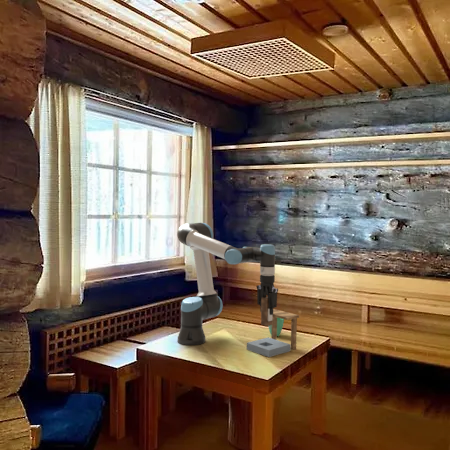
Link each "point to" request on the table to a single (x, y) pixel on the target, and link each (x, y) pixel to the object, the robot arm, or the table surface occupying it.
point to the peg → (265, 312)
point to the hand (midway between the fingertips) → (266, 319)
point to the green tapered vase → (279, 326)
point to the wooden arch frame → (287, 317)
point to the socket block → (268, 347)
